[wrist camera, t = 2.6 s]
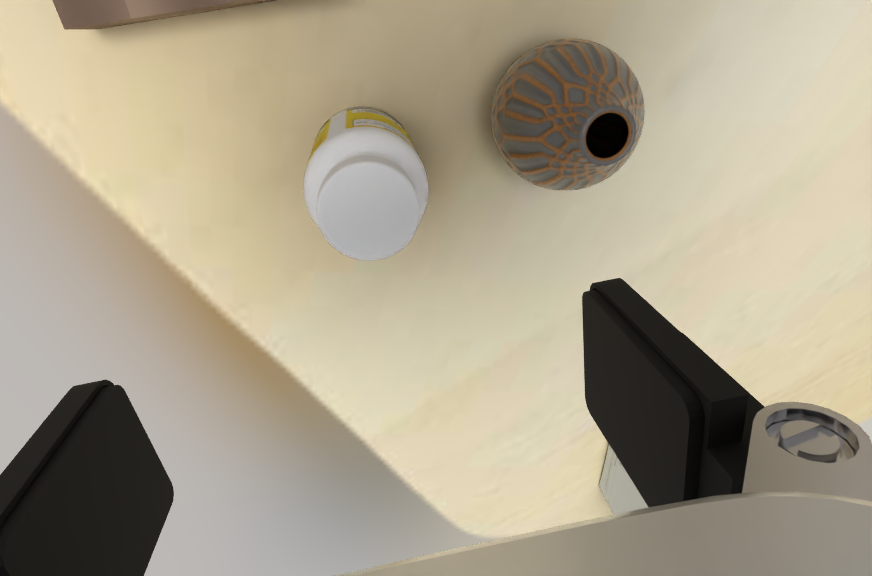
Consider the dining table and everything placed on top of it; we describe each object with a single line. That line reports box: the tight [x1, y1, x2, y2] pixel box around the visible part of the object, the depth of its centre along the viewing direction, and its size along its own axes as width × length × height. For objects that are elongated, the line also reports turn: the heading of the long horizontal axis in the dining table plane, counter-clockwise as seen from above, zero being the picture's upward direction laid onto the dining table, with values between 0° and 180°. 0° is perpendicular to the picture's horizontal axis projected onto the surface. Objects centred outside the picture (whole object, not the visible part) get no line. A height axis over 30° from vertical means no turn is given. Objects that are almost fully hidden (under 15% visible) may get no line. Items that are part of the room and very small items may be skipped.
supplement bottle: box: [303, 107, 428, 261], centre depth 25 cm, size 5×5×10 cm
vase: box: [491, 39, 644, 190], centre depth 25 cm, size 7×7×9 cm
